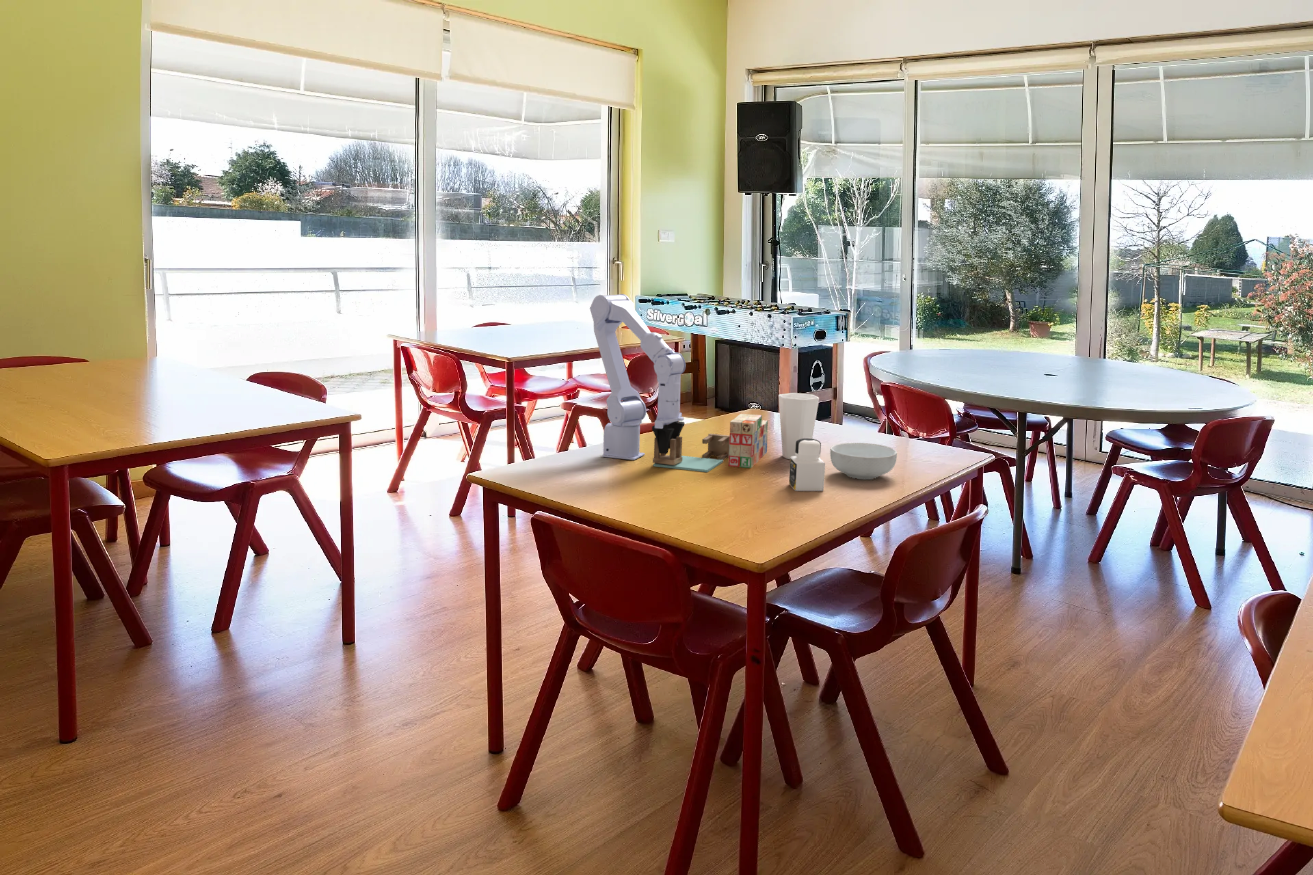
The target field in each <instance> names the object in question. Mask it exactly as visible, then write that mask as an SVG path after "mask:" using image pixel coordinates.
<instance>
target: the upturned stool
mask: <svg viewBox="0 0 1313 875" xmlns="http://www.w3.org/2000/svg"><path fill="white" fill-rule="evenodd" d="M653 444H654V445H653V446H654V447H653V448H654V449H653V458H652V464H654V463H659V464H668V465H676V464H678V463H680V462H682V457H681V456H683V455H682V454H683V452H682V450H683V436H678V437H676V439H670V449H669V455H670V456H669V455H667V454H663V453H659V449H658V444H657V440H656V437H654V443H653Z"/></svg>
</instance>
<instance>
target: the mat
mask: <svg viewBox="0 0 1313 875" xmlns="http://www.w3.org/2000/svg"><path fill="white" fill-rule="evenodd" d="M669 456H670V454H669ZM681 457H682V462H680V463H678V464H676V465H668V464H659V463H652V464H653V465H652V466H653V467H657V468H658V467H659V468H666V469H676V470H684V471H692V472H693V471H694V472H700V473H701V472H703V473H709V472H710V471H712V470H714V469H715V468H716V467H718V466H720V465H721V464H723V463H724V460H718V459H717V458H702V457H698V456H691V455H690V456H688V455H682V456H681Z"/></svg>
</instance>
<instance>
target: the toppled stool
mask: <svg viewBox="0 0 1313 875" xmlns="http://www.w3.org/2000/svg"><path fill="white" fill-rule="evenodd" d="M729 436H730V434H729V435H728V434H717V433H708V434H707V435H706V436H705V437H703V438H702V440H701V444H705V445H707V451H706V452H704V453H703V454H702V455H701V458H708V459H711V457H715V458H716V457H717V458H716V459H718V460H723V461H725V460H726V459H729Z"/></svg>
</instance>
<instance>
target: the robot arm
mask: <svg viewBox="0 0 1313 875" xmlns="http://www.w3.org/2000/svg"><path fill="white" fill-rule="evenodd" d="M634 303H635V302H633V301H632V300H631V299H630V297H629V296H628V295H626V294H624V293H619V294H606V295H605V294H604V295H603V294H599V295H596V296H595V297H594V298H593V300H592V302H591V305H590V306H589V310H590V314H591V318H592V321H593V332H594V333H593V334H594V337H595V339H596V342H597V343H596V344H597V346H598V350H599V354H600V356H601V360H602V364H603V368H604V371H605V374H606V378H607V382H608V385H609V388H610V391H611V393H610V394H609V395H608V397H607V398H606V399H605V400H606V401H605V402H606V404H607V413H606V414H607V417H608V419H609V422H608V423H607V424H606V425H605V426H604V431H603V447H602V448H603V449H602V450H603V451H602V452H603V454H602V455H601V456H602V457H603V458H604V457H605V458H610V459H611V458H612V459H618V460H619V459H620V460H621V459H622V460H627V461H628V460H631V461H634V460H637V459H638V458H641V457H643V456H646V455H645V452H641V451H640V442H641V440H640V437H641V435H640V432H641V424H642V423H643V421H642V420H644V419H645V417H646V415H647V407H646V403H645V402H644V401H643V399H642V398H641V395H640V393H639V391H637V390H636V389H635V388H634V387H632V386H631V382H630V379H629V378H630V377H629V375H628V371H627V367H626V365H625V361H624V358H623V354H622V351H621V347H620V344H619V341H618V337H617V334H616V331H617V329H618V327H620V326H621V324H622V323H623V324H624V325H625V326H626V327H627V328H628V329H629V330H630V331H631V332H632V333H633V334H634V335H635V336H636V337H637V338H638V339H639V340H640V345H639V346H640V348H641V350H642V351H643V352H644V353H645V354H646V356H648V358H649V359H650V360H651V362H653V369H654V373H655V374H656V381H657V383H658V388H657V389H658V391H657V396H658V397H657V415H656V419H655V420H654V425H652V426H651V430H652V433H653V435H654V438H656V440H657V444H658V449H659V453H663V454H666V455H667V454H669V451H670V439H676V437H678V436H679V437H681V436H680V435H681V433H682V430H683V428H684V427H685V422H684V420H685V418H684V416H682V415H683V413H682V412H681V380H682V378H681V375H682V374H683V373H684V372H685V370H686V368H687V367H686V365H687V364H686V360H685V358H684V356H683V355H682V353H679V352H675V350H673V349H672V348H671V347H670V346H669V345H668V344H667V343H666V341H665V340H664V339H663V336H662V335H661V334H660V333H658V332H651V331H650V329H649V327H648V326H647V325H646V323H645V322H644V320H643V319H642V318H641V316H640V315H639V314H638V312H637V311H636V309H635V308H634V307H635V304H634ZM602 457H601V458H602Z"/></svg>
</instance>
